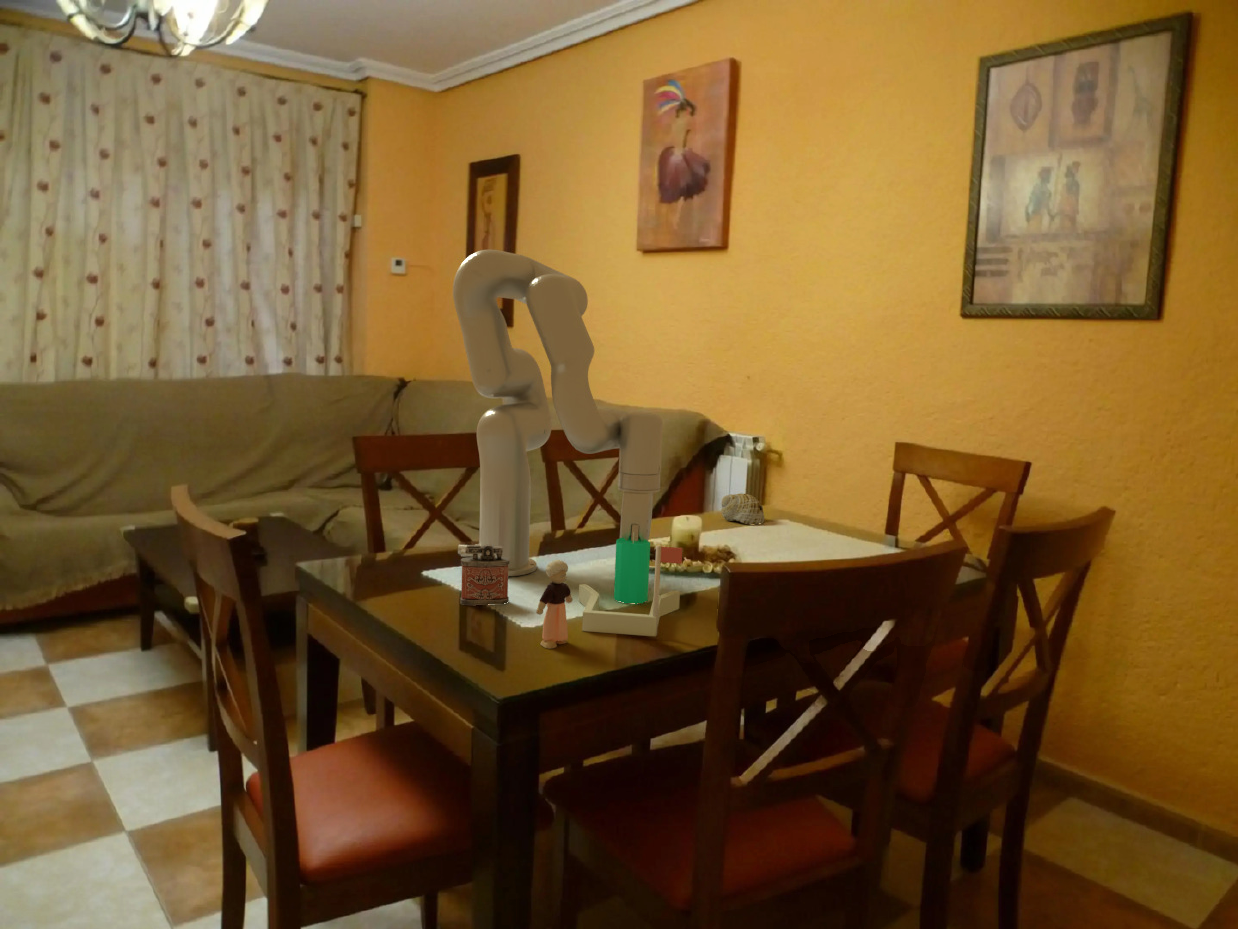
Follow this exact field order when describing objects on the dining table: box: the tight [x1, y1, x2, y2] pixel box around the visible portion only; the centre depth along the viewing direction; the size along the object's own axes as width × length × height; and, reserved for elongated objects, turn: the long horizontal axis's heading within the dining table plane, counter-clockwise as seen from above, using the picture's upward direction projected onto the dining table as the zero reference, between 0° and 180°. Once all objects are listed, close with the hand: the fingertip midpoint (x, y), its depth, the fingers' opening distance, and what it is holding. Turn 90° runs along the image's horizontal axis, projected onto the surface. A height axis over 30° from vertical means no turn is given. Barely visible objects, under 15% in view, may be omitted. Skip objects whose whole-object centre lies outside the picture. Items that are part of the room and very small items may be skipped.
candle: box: [613, 532, 651, 605], centre depth 157 cm, size 6×6×12 cm
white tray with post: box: [578, 545, 683, 637], centre depth 146 cm, size 18×16×14 cm
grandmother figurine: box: [535, 558, 573, 650], centre depth 134 cm, size 8×4×13 cm, turn 156°
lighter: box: [459, 544, 510, 606], centre depth 152 cm, size 8×3×10 cm, turn 100°
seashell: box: [720, 493, 765, 525], centre depth 228 cm, size 10×10×10 cm
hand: (634, 581), depth 165 cm, fingers closed
